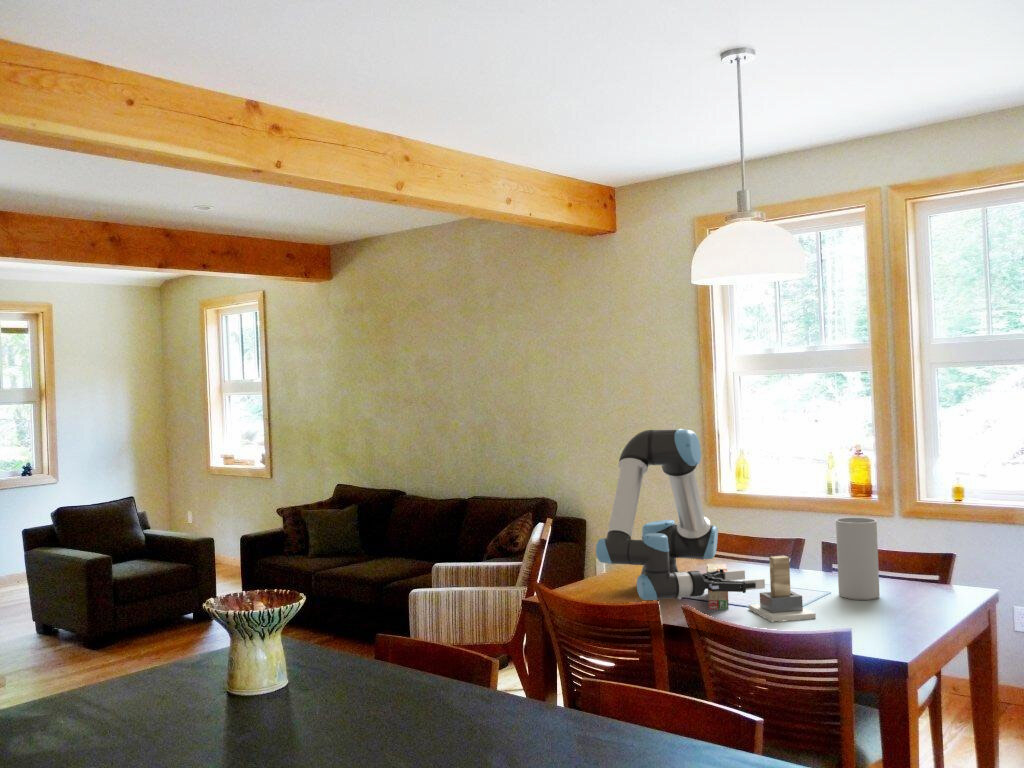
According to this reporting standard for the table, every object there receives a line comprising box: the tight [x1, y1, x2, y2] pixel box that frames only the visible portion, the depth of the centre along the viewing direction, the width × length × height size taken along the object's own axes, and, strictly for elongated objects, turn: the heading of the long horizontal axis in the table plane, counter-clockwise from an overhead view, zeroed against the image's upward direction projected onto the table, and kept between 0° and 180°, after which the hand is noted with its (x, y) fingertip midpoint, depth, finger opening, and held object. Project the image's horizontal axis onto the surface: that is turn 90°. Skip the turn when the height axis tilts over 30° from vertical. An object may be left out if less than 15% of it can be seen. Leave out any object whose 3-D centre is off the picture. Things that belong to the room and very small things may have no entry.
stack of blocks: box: [706, 563, 730, 610], centre depth 291 cm, size 21×6×12 cm, turn 168°
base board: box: [748, 603, 817, 622], centre depth 272 cm, size 16×14×2 cm
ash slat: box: [768, 555, 791, 597], centre depth 272 cm, size 3×5×16 cm, turn 100°
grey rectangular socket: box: [759, 590, 804, 613], centre depth 272 cm, size 8×10×4 cm
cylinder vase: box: [835, 516, 881, 601], centre depth 291 cm, size 12×12×25 cm
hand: (754, 579), depth 270 cm, fingers open, 13 cm apart
